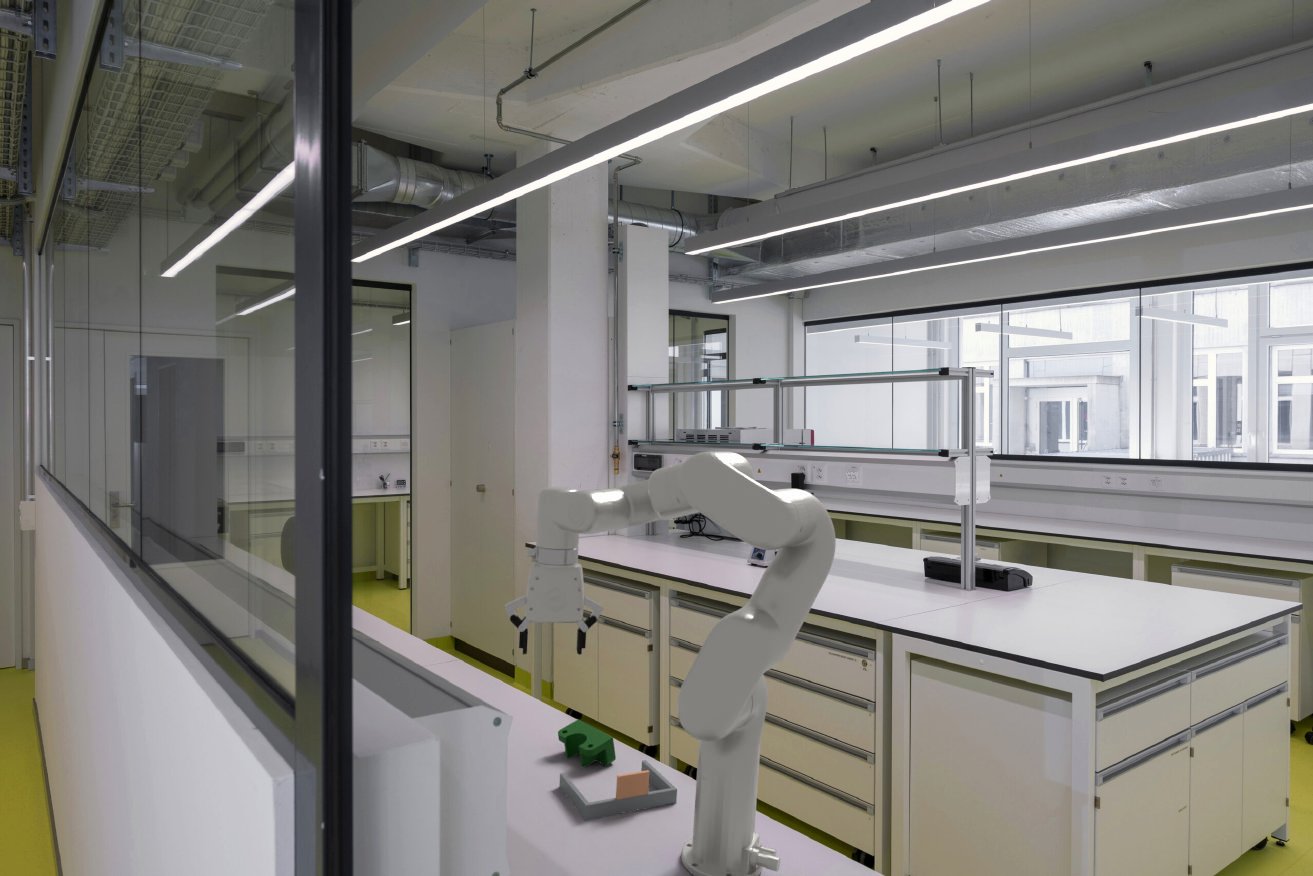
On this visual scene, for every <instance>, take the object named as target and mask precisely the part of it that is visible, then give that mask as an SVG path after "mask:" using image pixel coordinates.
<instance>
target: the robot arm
mask: <svg viewBox="0 0 1313 876" xmlns="http://www.w3.org/2000/svg"><path fill="white" fill-rule="evenodd" d="M537 500H538V502H537V517H536V518H537V521H536V539H535V540H536V541H535V546H534V548H532V549H530V548H529V549H527V557H528V558H531V559H532V558H533V560H535V561H533V562H532V563H531V564H530V568H529V572H528V578H527V583H526V594H523V595H522V596H520V597H518V598H516V599H513V600H511V601H509V602H508V603H506V604H505V605H504V609H505V612H506V614H507V617H508V618H509V621H510V622H511V624H513V625H514V627H516V629H517V630H518V631H519V637H518V639H519V641H518V649H522V655H527V653H528V641H529V640H528V638H529V637H528V636H529V635H528V634H529V629H528V627H529V626H531V624H532V623H539V624H540V623H541V624H545V623H547V624H554V623H555V624H576V625H577V626H578V628H577V632H576V653H577V654H578V655H582V653H583V652H582V651H583V649H586V644H587V642H586V641H587V632H588V631H589V630H590V629H591V627H593V625H595V624H596V623H597V622H598V619H599V618H600V616H601V613H602V612H603V610H604V608H603V605H601V604H600V603H598V602H597V601H595V600H592V599H591V598H589V597H587V596H585V595H584V594H585V593H584V592H585V587H584V586H585V585H584V583H585V582H584V572H583V566H582V564H580V563H578V562H579V541H580V535H593V534H597V533H598V534H599V533H604V532H612V531H618V530H623V529H628V528H631V527H636V526H641V525H645V524H649V523H653V522H658V521H662V520H663V521H668V520H672V519H676V518H678V519H679V518H682V517H685V516H690V515H693V514H697V513H701V514H702V515H704V517H707V518H708V519H709V520H711V521H712V522H714V523H716V525H719V526H720V527H721V528H723V529H724V530H726V531H727V532H728V533H730V534H732V535H733V536H735V537H737V538H738V539H740V540H741V541H742V542H744V543H746V544H747V545H750V546H752V547H754V548H757V549H758V550H765V551H774V550H775V551H776V550H777V552H776V554H775V556H774V557H773V559H772V560H771V562H770V563H769V564H768V565H767V567H766V569H765V570H764V572H763V574H762V576H761V578H760V580H759V582H758V584H757V586H756V588H755V589H754V591H753V594H752V595H751V596H750V598H749V600H748V601H747V602H746V604H745V605H744V606H743V607H741V608H739V609H738V610H735V611H733V612H731V613H729V614H726V615H725V616H724V617H722V618H721V619H720V620H718V621H717V622H716V624H715V625H713V627H712V629H711V630H710V631H709V633H708V635H707V636H706V638H705V640H704V642H703V644H702V646H701V647H700V649H699V652H698V653H697V655H696V657H695V659H694V661H693V663H692V665H691V666H690V669H689V671H688V672H687V674H686V677H685V679H684V680H683V683H682V684H681V686H680V690H679V692H678V696H677V699H676V700H677V702H676V710H677V715H678V716H677V717H678V719H679V722H680V724H681V727H682V728H683V729H684V730H685V731H686V733H687V734H688V735H689V736H690V737H692V738H693V739H695V740H698V741H699V743H698V752H697V753H698V754H697V770H696V781H695V782H696V783H695V799H694V800H695V801H694V813H693V815H694V816H693V817H694V818H693V828H692V829H693V830H692V831H693V832H692V833H693V834H692V838H691V839H689V840H688V841H687V842H686V843H684V845H683V846H682V849H681V861H682V864H683V866H684V868H685V869H687V871H688V872H689V873H690V874H692V875H693V876H759V875H760V874H761V873H762V870H763V868H765V869H766V870H770V871H773V872H777V873H778V872H779V870H780V865H781V857H777V849H775V848H771V847H766V846H763V844H761V843H760V833H757V832H756V831H755V830H756V829H755V828H756V813H757V799H758V784H759V783H758V782H759V770H760V768H759V767H760V757H761V745H762V737H763V736H762V735H763V730H764V723H765V720H766V715H767V709H768V704H769V703H768V701H769V690H768V683H767V680H766V677H765V673H766V672H767V671H769V670H771V669H772V668H774V667H775V666H776V665H778V664H780V663H781V662H782V661H783V660H784V658H786V656H787V655H788V653H789V651H790V649H791V648H792V646H793V643H794V641H795V639H796V638H797V635H798V634H799V631H800V629H801V628H802V626H803V624H804V622H805V621H806V618H807V617H808V615H809V614H810V611H811V609H812V606H813V605H814V603H815V601H816V599H817V597H818V595H819V594H820V591H821V589H822V587H823V585H824V584H825V582H826V580H827V577H828V576H829V573H830V571H831V568H832V565H833V562H834V558H835V554H836V544H837V543H836V532H835V531H836V530H835V527H834V524H833V520H832V518H831V516H830V514H829V512H828V510H827V509H826V507H825V506H824V504H823V503H822V502H821V501H820V499H818V498H817V497H816V496H814V495H813V494H812V493H810V492H809V491H806V490H803V489H800V488H778V489H773V490H771V489H769V488H767V487H766V486H764V485H762V484H761V483H759V482H757V481H756V480H755V472H754V470H753V467H752V466H751V464H750V463H749V461H748V459H746V458H745V457H744V456H742V455H741V454H739V453H736V452H732V451H701V452H698V453H695V454H693V455H691V456H690V457H689V458H687V459H686V460H685V461H684V462H680V463H676V464H672V465H668V466H663V467H660V468H657V469H655V470H653V472H652V473H651V474H650V476H649V478H648V479H645V480H642V481H639V482H634V483H630V484H626V485H622V486H618V487H613V488H611V487H610V488H599V489H598V488H597V489H596V488H595V489H588V490H587V489H586V490H585V489H584V490H578V489H577V488H574V487H573V488H572V487H568V486H567V487H565V486H547V487H543V488H541V490H539V493H538V497H537ZM521 606H525V608H524V611H525V612H524V613H525V614H524V615H525V616H523V618H522V619H521V618H520V617H519V616H518V614H517V613H516V611H515V609H517V608H519V607H521ZM584 606H586V607H587V608H590V609H591V610H592V612H591V614H590V615H589V616H587V618H586V619H584V618H583V616H584V609H585V608H584Z"/></svg>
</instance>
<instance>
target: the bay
mask: <svg viewBox="0 0 1313 876" xmlns="http://www.w3.org/2000/svg"><path fill="white" fill-rule="evenodd" d="M650 783H651V784H652V785H653V787H655V789H657V790H653V791H649V788H650ZM615 786H616V788H615V790H616V791H615V797H614V798H613V797H611V798H608V799H607V798H605V799H603V800H602V799H601V800H596V801H589V800H587V799H586V797H585V796H584V795H583V794H582V793H581V791H580V790H579V789H578V787H577V786H576V785H575V784H574V782H573V781H572V780H571V779H570V778H569V777H568V776H567V774H566V773H565V772H561V773H559V786H558V787H559V788H560V790H561V791H562V793H563V794H564V793H565V794H566V795H567V796H566V795H565V794H564V795H565V796H566V797H567V798H568V800H569V801H570V803H571V804H572V805H573V807H574V808H575V809H576V810H577V811H578V813H579V814H580V815H581V817H582V818H583V819H584V820H585V821H588V820H593V819H597V818H598V819H599V818H604V817H609V816H614V815H620V814H619V813H621V814H624V813H623V812H626V813H629V811H631V812H634V811H633V810H637V809H638V810H637V811H640V810H639V809H642V810H645V809H644V808H647V809H652V808H657V806H658V807H662V806H667V805H666V804H668V805H672V804H671V803H674V804H677V797H678V788H677V787H675V785H673V783H671V782H670V780H668V779H667V778H666V777H665V776H664V775H662V773H660V772H659V771H658V770H657V769H656V768H655V767H654V766H653V765H652V764H651V763H649V761H648V760H646V759H642V760H641V769H640V771H635V772H630V773H623V774H617V775H616V785H615ZM649 807H650V808H649ZM651 807H652V808H651Z"/></svg>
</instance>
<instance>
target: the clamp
mask: <svg viewBox="0 0 1313 876" xmlns="http://www.w3.org/2000/svg"><path fill="white" fill-rule="evenodd" d="M557 736H558V741H559V742H561V743H563V744H564V750H565V758H566V757H567V758H566V759H570V758H572V757H573V756H577V755H579V757H580V764H581V765H580V766H581V767H582V768H583V767H584V768H586V767H588V766H589V765H591V764H592V763H594V762H595V761H596V760H597V761H596V762H598V761H599V762H598V763H600V762H601V763H602V765H603V764H604V765H603V766H605V765H606V767H607V766H608V765H610V764H611V763H613V762H614V761H616V751H615V750H616V749H615V743H614V737H613V736H611V735H609V734H607V733H606V732H603V731H602V730H599V729H598V728H596V727H594V726H592V725H590V724H588V723H587V722H584V721H582V720H581V719H579V718H578V719H576V720H574V721H573V722H571V723H569V724H568V725H565V726H564V727H562V728H561V729H559V730H558V731H557ZM569 757H570V758H569ZM601 763H600V764H601Z"/></svg>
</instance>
